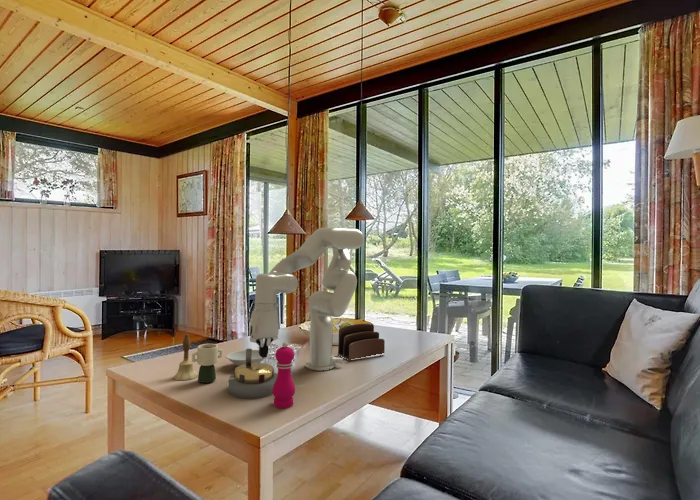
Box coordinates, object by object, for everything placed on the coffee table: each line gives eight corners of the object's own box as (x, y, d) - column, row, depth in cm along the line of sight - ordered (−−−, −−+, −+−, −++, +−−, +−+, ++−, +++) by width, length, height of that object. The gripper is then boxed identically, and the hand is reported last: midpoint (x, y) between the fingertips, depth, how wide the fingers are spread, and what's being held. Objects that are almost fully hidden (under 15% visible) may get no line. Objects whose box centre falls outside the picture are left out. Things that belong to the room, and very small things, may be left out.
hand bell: (173, 374, 149) (174, 332, 149) (197, 372, 153) (198, 331, 152) (173, 381, 142) (174, 338, 142) (197, 379, 145) (198, 336, 145)
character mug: (218, 375, 149) (219, 341, 149) (225, 381, 144) (225, 346, 144) (188, 381, 143) (189, 345, 142) (194, 387, 137) (195, 350, 137)
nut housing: (280, 380, 146) (280, 369, 146) (276, 398, 130) (276, 385, 129) (233, 380, 145) (234, 369, 145) (223, 398, 128) (223, 386, 128)
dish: (230, 375, 151) (230, 362, 151) (221, 364, 163) (221, 352, 163) (274, 368, 160) (274, 356, 160) (262, 359, 172) (262, 347, 172)
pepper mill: (267, 406, 123) (269, 343, 123) (279, 398, 130) (281, 338, 129) (287, 410, 120) (289, 346, 120) (298, 402, 127) (300, 340, 127)
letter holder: (337, 356, 181) (338, 325, 181) (372, 350, 191) (373, 322, 191) (349, 361, 172) (350, 330, 172) (384, 356, 183) (385, 326, 183)
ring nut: (279, 379, 135) (280, 355, 135) (243, 386, 128) (243, 360, 128) (263, 368, 146) (264, 346, 146) (229, 374, 138) (230, 351, 138)
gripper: (279, 304, 152) (277, 351, 152) (242, 306, 143) (240, 356, 143) (288, 307, 146) (286, 356, 146) (249, 310, 137) (247, 362, 137)
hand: (263, 356), depth 145 cm, fingers closed
